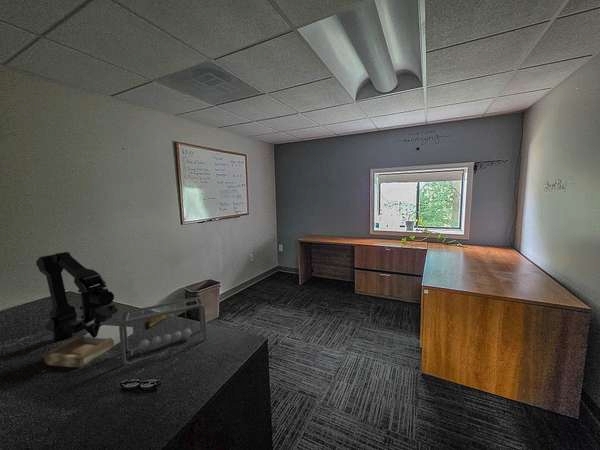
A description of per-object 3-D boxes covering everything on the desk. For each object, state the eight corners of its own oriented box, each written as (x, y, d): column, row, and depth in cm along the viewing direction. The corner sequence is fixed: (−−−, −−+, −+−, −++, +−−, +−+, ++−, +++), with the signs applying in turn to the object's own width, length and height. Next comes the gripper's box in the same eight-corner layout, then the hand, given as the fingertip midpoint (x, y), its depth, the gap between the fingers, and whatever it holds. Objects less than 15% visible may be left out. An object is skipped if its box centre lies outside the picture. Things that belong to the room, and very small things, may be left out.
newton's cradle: (122, 368, 91) (118, 322, 89) (125, 353, 100) (121, 311, 98) (207, 342, 106) (204, 303, 104) (203, 331, 115) (200, 295, 113)
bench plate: (82, 343, 107) (81, 336, 107) (103, 331, 117) (103, 325, 116) (114, 345, 104) (113, 339, 104) (133, 333, 114) (132, 327, 114)
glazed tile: (83, 344, 102) (84, 349, 103) (70, 352, 97) (70, 358, 97) (95, 345, 102) (95, 350, 102) (81, 353, 96) (82, 359, 97)
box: (44, 364, 93) (43, 354, 93) (81, 343, 106) (80, 335, 106) (80, 368, 91) (79, 358, 90) (113, 346, 104) (112, 337, 104)
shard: (149, 328, 118) (149, 324, 118) (136, 326, 120) (136, 322, 120) (167, 318, 128) (166, 314, 128) (155, 316, 130) (155, 313, 130)
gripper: (84, 313, 92) (89, 352, 94) (126, 294, 111) (129, 327, 112) (60, 312, 94) (64, 349, 96) (105, 293, 112) (108, 325, 114)
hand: (94, 337), depth 104 cm, fingers closed
